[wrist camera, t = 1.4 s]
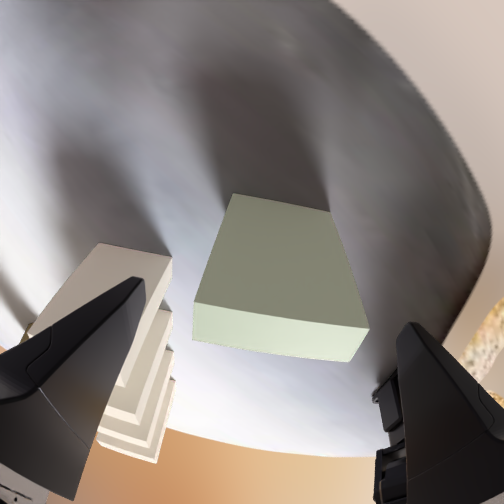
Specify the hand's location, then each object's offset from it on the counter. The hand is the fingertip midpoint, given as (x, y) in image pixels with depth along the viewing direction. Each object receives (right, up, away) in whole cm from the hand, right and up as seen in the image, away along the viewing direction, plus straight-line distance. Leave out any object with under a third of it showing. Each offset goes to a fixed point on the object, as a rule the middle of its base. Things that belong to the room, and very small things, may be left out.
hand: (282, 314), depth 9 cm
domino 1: (-8, +1, +8) cm, 12 cm away
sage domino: (0, +4, +6) cm, 7 cm away
